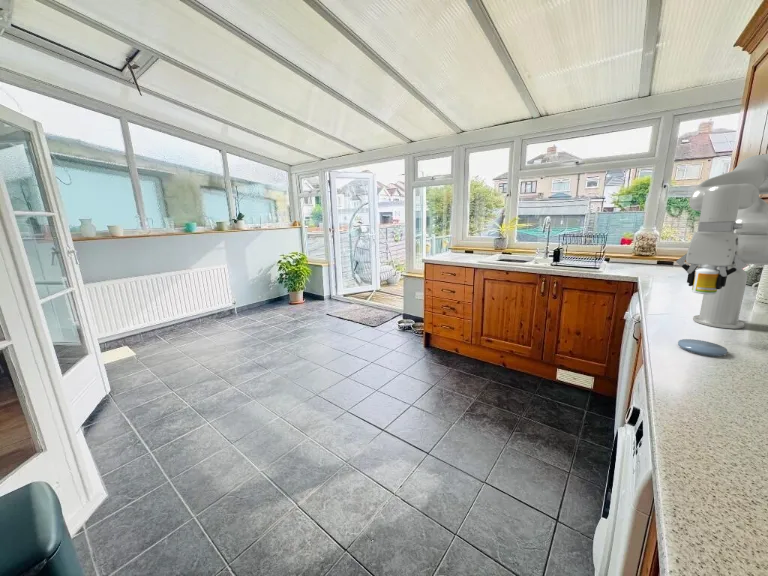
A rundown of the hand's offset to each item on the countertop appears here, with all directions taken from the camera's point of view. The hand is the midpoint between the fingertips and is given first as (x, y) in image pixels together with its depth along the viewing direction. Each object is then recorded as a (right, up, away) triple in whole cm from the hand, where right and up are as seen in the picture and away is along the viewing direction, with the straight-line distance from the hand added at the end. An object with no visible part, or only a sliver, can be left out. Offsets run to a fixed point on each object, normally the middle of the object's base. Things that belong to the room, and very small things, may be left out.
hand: (704, 286), depth 95 cm
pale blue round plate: (-7, -19, -5) cm, 21 cm away
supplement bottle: (0, -2, 0) cm, 2 cm away
